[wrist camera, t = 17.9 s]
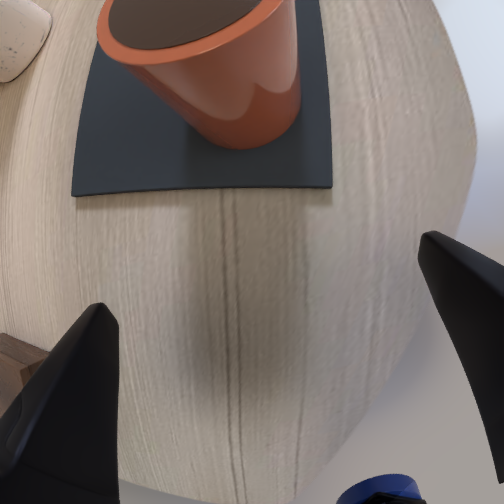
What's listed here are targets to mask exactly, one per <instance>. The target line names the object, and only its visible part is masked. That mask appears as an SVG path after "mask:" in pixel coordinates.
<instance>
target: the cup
mask: <svg viewBox="0 0 504 504" xmlns="http://www.w3.org/2000/svg"><path fill="white" fill-rule="evenodd" d="M97 38H98V42H99V44H100V46H101V48H102V50H103V51H104V52H105V53H106V54H107V55H108V56H109V57H110V58H112V59H113V60H114V61H115V62H117V63H118V64H119V65H120V66H121V67H123V68H124V69H125V70H126V71H128V72H129V73H130V74H131V75H132V76H134V77H135V78H136V79H137V80H138V81H140V82H141V83H142V84H143V85H144V86H146V87H147V88H148V89H149V90H150V91H151V92H153V93H154V94H155V95H156V96H157V97H158V98H160V99H161V100H162V101H163V102H164V103H165V104H167V105H168V106H169V107H170V108H171V109H172V110H173V111H175V112H176V113H177V114H178V115H179V116H180V117H181V118H182V119H184V120H185V121H186V122H187V123H188V124H189V125H190V126H191V127H193V128H194V129H195V130H196V131H197V132H198V133H199V134H200V135H201V136H203V137H204V138H205V139H206V140H208V141H209V142H211V143H213V144H215V145H217V146H220V147H223V148H227V149H234V150H244V149H252V148H257V147H260V146H263V145H265V144H267V143H270V142H272V141H273V140H275V139H277V138H278V137H279V136H281V135H282V134H283V133H284V132H285V131H286V130H287V129H288V128H289V127H290V126H291V125H292V123H293V122H294V120H295V118H296V117H297V114H298V112H299V109H300V105H301V76H300V58H299V43H298V30H297V17H296V6H295V0H106V1H105V3H104V5H103V7H102V9H101V11H100V14H99V17H98V21H97Z"/></svg>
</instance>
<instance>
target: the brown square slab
mask: <svg viewBox="0 0 504 504" xmlns="http://www.w3.org/2000/svg"><path fill="white" fill-rule="evenodd" d="M49 353H50V352H47V351H45V350H42V349H39V348H37V347H34V346H32V345H30V344H27V343H25V342H22V341H20V340H18V339H16V338H13V337H11V336H9V335H7V334H5V333H0V418H1V417H2V415H3V414H4V413H5V411H6V410H7V409H8V407H9V406H10V405H11V403H12V402H13V401H14V399H15V398H16V396H17V395H18V394H19V392H20V391H21V390H22V388H23V387H24V385H25V384H26V383H27V381H28V380H29V379H30V377H31V376H32V375H33V373H34V372H35V371H36V370H37V368H38V367H39V366H40V364H41V363H42V362H43V361H44V359H45V358H46V357H47V356H48V354H49Z"/></svg>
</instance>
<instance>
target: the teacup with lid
mask: <svg viewBox="0 0 504 504" xmlns="http://www.w3.org/2000/svg"><path fill="white" fill-rule="evenodd" d="M51 23H52V19H51V15H50V14H49V13H48V12H46V11H45V10H44V9H42V8H41V7H39V6H38V5H36V4H35V3H33V2H32V1H31V0H0V81H1V82H8V81H11V80H13V79H14V78H15V77H17V76H18V75H19V74H20V73H21V72H22V71H23V70H24V69H25V68H26V67H27V66H28V65H29V64H30V62H31V61H32V60H33V59H34V57H35V56H36V54H37V53H38V51H39V50H40V48H41V47H42V45H43V43H44V42H45V40H46V38H47V35H48V33H49V31H50V27H51Z"/></svg>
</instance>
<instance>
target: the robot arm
mask: <svg viewBox="0 0 504 504" xmlns="http://www.w3.org/2000/svg"><path fill="white" fill-rule="evenodd" d="M418 263H419V266H420V268H421V270H422V273H423V275H424V278H425V280H426V283H427V285H428V288H429V290H430V293H431V295H432V298H433V300H434V303H435V305H436V308H437V310H438V312H439V314H440V316H441V318H442V321H443V322H444V325H445V327H446V329H447V331H448V333H449V335H450V338H451V340H452V342H453V344H454V347H455V349H456V351H457V354H458V356H459V358H460V361H461V363H462V366H463V368H464V371H465V373H466V376H467V378H468V381H469V383H470V386H471V389H472V391H473V394H474V397H475V400H476V403H477V405H478V409H479V412H480V415H481V418H482V421H483V424H484V427H485V431H486V435H487V438H488V442H489V445H490V449H491V452H492V457H493V461H494V465H495V469H496V473H497V478H498V481H499V484H501V483H503V482H504V266H503V265H501V264H499V263H497V262H496V261H494V260H492V259H490V258H488V257H486V256H484V255H483V254H481V253H479V252H477V251H475V250H473V249H471V248H470V247H468V246H466V245H464V244H462V243H460V242H458V241H456V240H454V239H452V238H450V237H448V236H446V235H444V234H442V233H440V232H438V231H429V232H425V233H423V234H422V236H421V240H420V246H419V252H418ZM118 392H119V325H118V322H117V320H116V318H115V317H114V316H113V314H112V313H111V312H110V310H109V309H108V307H107V306H106V305H105V304H104V303H101V302H100V303H95V304H91V305H90V306H89V307H88V308H87V309H86V310H85V311H84V312H83V313H82V315H81V316H80V317H79V318H78V319H77V320H76V322H75V323H74V324H73V325H72V326H71V327H70V329H69V330H68V331H67V332H66V333H65V335H64V336H63V337H62V338H61V339H60V341H59V342H58V343H57V344H56V346H55V347H54V348H53V349H52V351H51V352H50V353H49V354H48V356H47V357H46V358H45V359H44V361H43V362H42V363H41V364H40V366H39V367H38V368H37V370H36V371H35V372H34V373H33V375H32V376H31V377H30V379H29V380H28V381H27V383H26V384H25V385H24V387H23V388H22V390H21V391H20V392H19V394H18V395H17V396H16V398H15V399H14V401H13V402H12V403H11V405H10V406H9V407H8V409H7V410H6V411H5V413H4V414H3V415H2V417H1V418H0V504H120V500H119V485H118V459H117V420H118ZM362 504H426V501H425V500H422V499H416V498H410V497H405V496H399V495H394V494H390V493H385V492H376V493H374V494H372V495H371V496H370V497H369V498H368V499H367V500H365V501H364V502H363V503H362Z"/></svg>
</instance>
